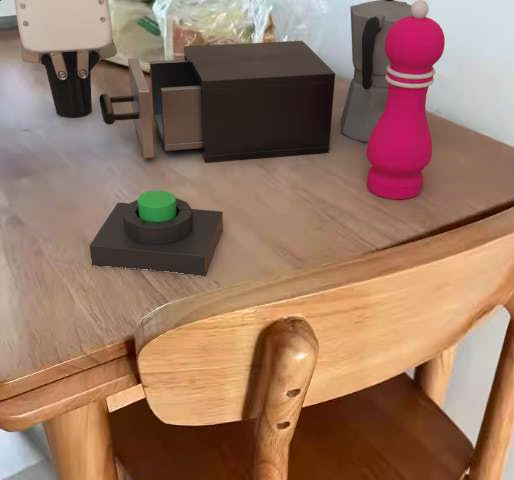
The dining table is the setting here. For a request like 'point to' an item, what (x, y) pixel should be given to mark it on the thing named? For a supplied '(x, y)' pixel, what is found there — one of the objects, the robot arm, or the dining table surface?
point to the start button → (157, 206)
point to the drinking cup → (57, 89)
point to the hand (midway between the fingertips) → (77, 108)
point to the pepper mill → (405, 107)
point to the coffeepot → (369, 65)
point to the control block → (158, 240)
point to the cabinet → (262, 100)
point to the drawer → (162, 105)
